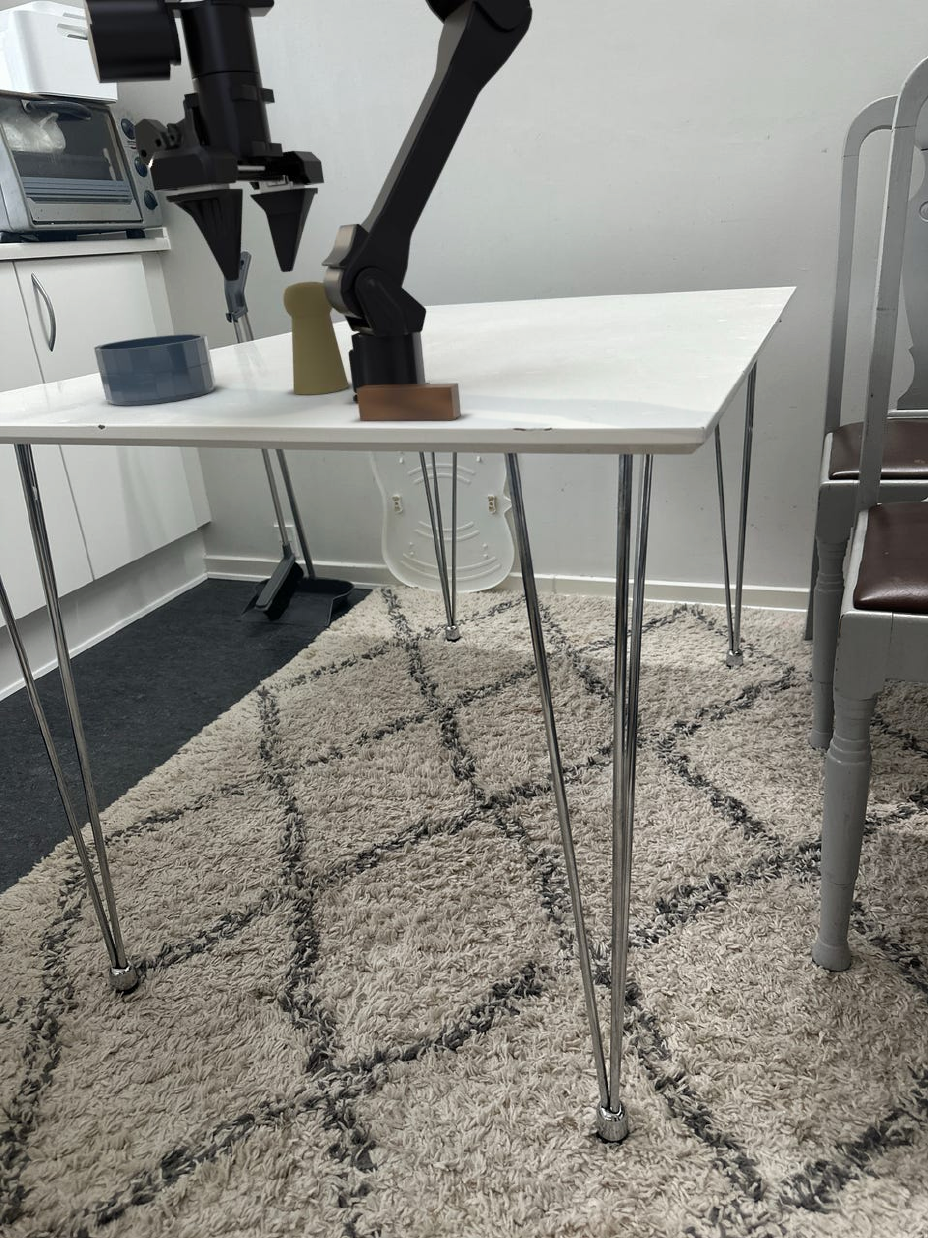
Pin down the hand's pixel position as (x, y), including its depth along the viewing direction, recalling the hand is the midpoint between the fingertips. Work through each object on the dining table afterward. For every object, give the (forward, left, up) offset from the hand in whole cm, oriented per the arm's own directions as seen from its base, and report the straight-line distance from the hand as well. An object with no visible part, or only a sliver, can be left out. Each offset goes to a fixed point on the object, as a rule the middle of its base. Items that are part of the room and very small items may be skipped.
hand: (261, 275), depth 81 cm
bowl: (+21, -13, -12) cm, 28 cm away
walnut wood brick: (-14, +5, -12) cm, 19 cm away
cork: (+1, -12, -13) cm, 18 cm away
